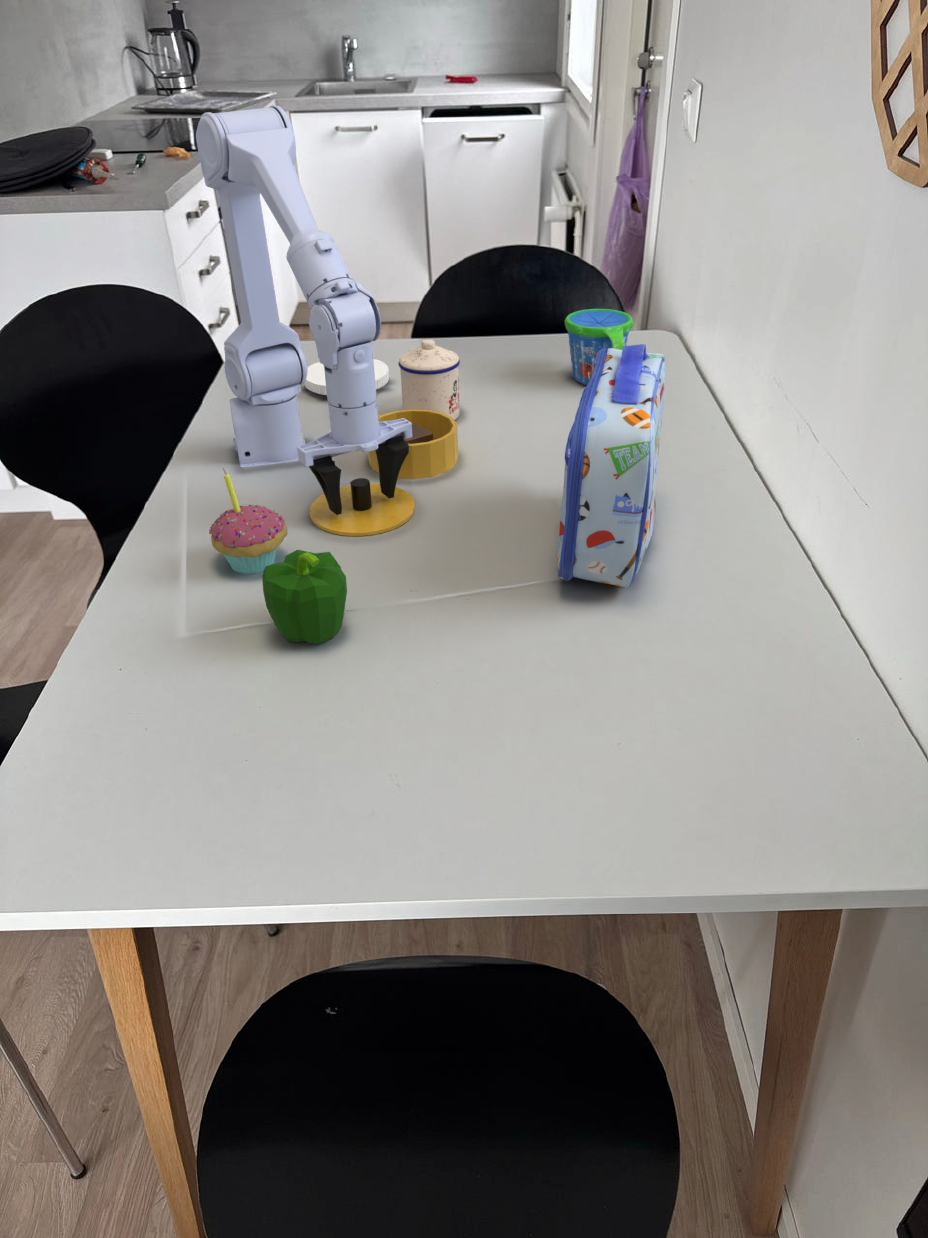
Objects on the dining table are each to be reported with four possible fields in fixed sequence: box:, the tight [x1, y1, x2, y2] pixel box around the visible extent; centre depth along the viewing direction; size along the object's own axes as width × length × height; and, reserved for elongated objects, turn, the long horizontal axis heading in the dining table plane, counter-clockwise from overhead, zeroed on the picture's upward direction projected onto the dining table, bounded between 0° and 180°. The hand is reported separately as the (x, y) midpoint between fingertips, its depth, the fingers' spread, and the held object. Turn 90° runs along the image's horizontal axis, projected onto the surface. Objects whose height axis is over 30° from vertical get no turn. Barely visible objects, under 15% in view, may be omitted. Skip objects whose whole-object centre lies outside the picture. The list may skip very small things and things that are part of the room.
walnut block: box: [403, 424, 433, 444], centre depth 130 cm, size 4×4×4 cm
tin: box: [367, 409, 459, 480], centre depth 130 cm, size 12×12×5 cm
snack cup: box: [564, 308, 634, 386], centre depth 153 cm, size 16×10×10 cm
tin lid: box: [309, 477, 416, 537], centre depth 118 cm, size 13×13×4 cm
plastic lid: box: [303, 358, 390, 396], centre depth 156 cm, size 14×14×2 cm
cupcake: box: [208, 467, 288, 575], centre depth 106 cm, size 9×8×12 cm
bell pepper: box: [261, 549, 348, 645], centre depth 96 cm, size 8×8×10 cm
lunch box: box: [557, 343, 666, 589], centre depth 106 cm, size 28×10×22 cm, turn 168°
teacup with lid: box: [398, 338, 461, 421], centre depth 143 cm, size 12×9×12 cm
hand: (362, 503), depth 118 cm, fingers open, 7 cm apart
